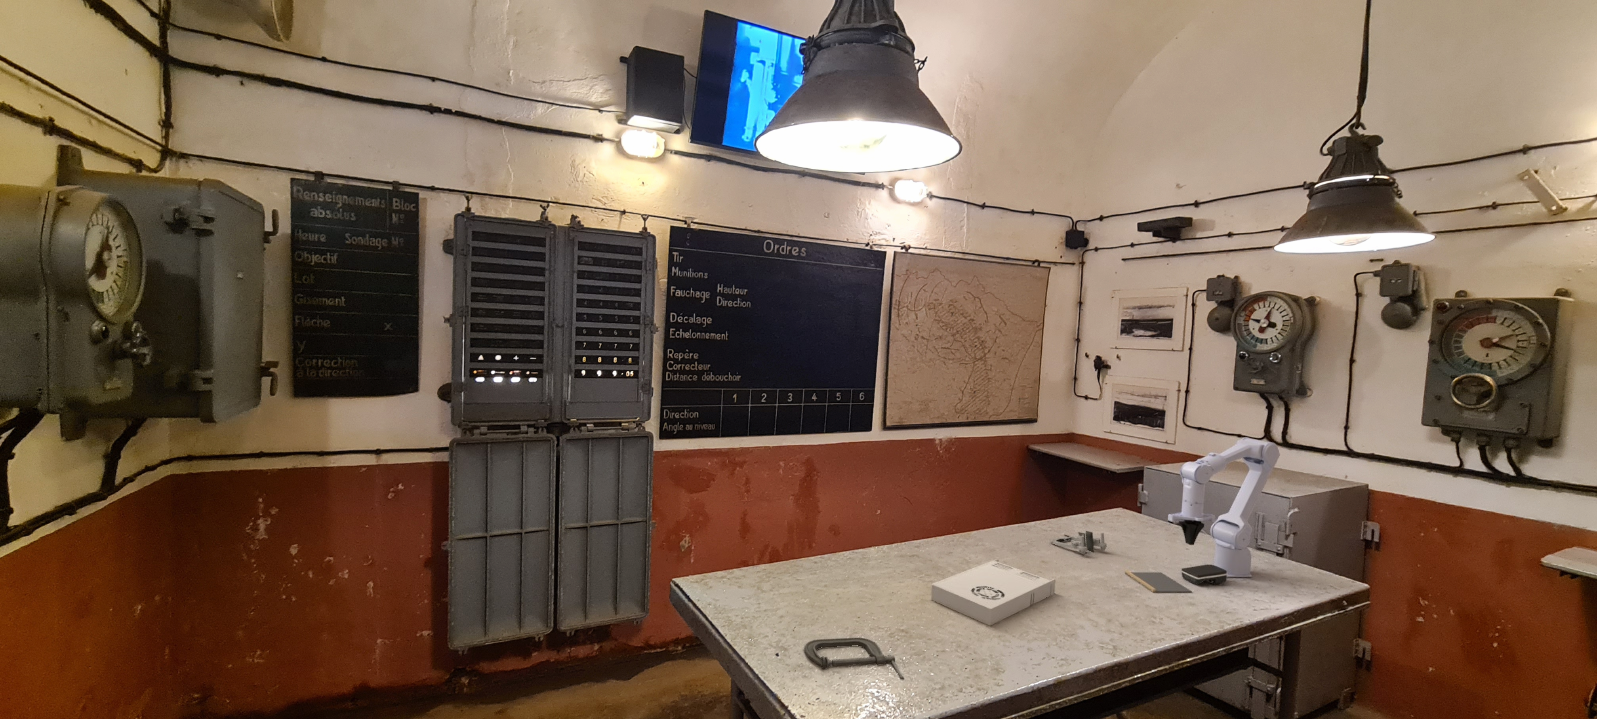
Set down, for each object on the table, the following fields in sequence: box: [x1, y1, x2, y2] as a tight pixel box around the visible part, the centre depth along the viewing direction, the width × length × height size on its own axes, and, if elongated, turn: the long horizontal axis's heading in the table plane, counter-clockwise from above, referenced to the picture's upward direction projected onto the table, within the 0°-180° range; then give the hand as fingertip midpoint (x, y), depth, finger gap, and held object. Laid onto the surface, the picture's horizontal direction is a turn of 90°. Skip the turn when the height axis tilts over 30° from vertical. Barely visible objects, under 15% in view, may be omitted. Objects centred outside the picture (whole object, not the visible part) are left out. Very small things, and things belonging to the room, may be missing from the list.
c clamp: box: [803, 637, 905, 680], centre depth 146 cm, size 20×17×3 cm
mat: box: [1124, 570, 1193, 594], centre depth 197 cm, size 12×14×1 cm
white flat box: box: [930, 558, 1056, 626], centre depth 183 cm, size 19×33×5 cm, turn 131°
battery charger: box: [1180, 564, 1228, 585], centre depth 200 cm, size 7×4×11 cm
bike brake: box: [1048, 530, 1108, 555], centre depth 227 cm, size 14×7×20 cm
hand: (1189, 543), depth 203 cm, fingers closed
